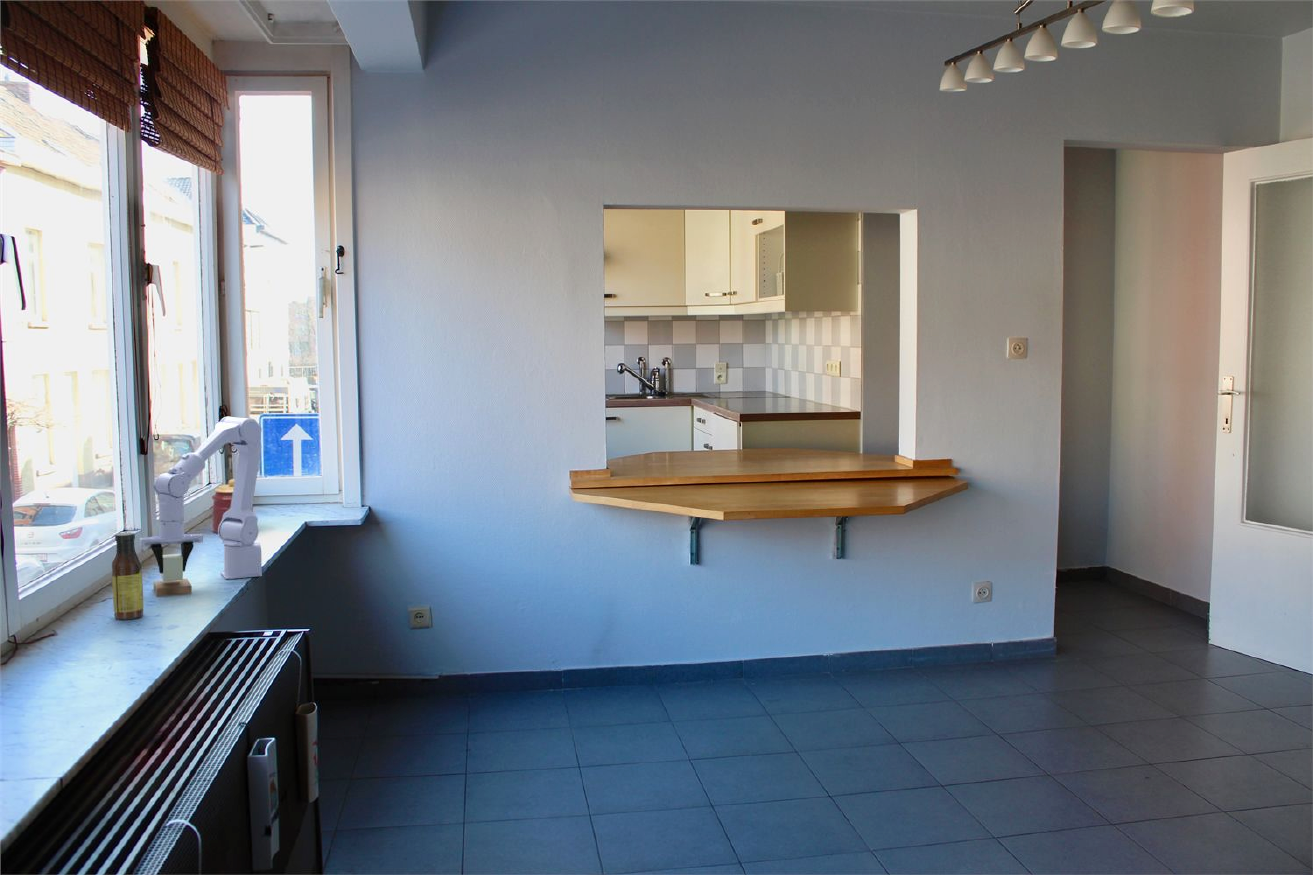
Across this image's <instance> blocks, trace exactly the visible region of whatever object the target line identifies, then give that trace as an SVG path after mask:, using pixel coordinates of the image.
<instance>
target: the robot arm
mask: <svg viewBox="0 0 1313 875" xmlns="http://www.w3.org/2000/svg"><path fill="white" fill-rule="evenodd" d="M261 434H262V427H261V425H260V424H259V423H258V421H257V420H256V419H254V418H252V417H251V418H250V417H249V418H248V417H247V418H244V417H233V416H225V417H223V418H221V419H220V421H218V422H217V423H215V426H214V430H213V431H212V432H211V434H210V435H209V436H208V437H207V438H206V439H205V440H204V441H203V442H202V443H201V445H200V446H199V447H198V448H197V449H196V451H194V452H188V453H184V454H182V456H181V459H180V460H178V462H176V463H175V464H174V466H173V467H170V468H169V469H168V471H167V472H165V473H161V474H160V475H159V476H158V477H157V478H156V479H155V482H154V484H152V487H153V490H154V492H155V493H156V496H157V500H158V510H159V511H158V512H159V513H158V517H159V518H158V519H159V521H158V525H159V529H158V531H159V532H158V533H159V535H156V536H148V537H140V538H139V546H140V547H141V548H143V547H149V548H150V549H151V551H152V552H153V555H154V557H155V559H156V562H157V566H158V572H159V574H161V573H163V555H164V549H163V546H165V545H166V546H167V545H178V544H180V554H181V556H182V557H183V573H185V572H186V567H187V563H188V560H189V558H190V556H191V553H192V551H193V549H194V546H195V545H194V543H200V544H201V543H204V535H203V533H196V534H193V533H192V534H191V533H190V534H187V533H185V519H184V518H185V513H184V510H185V509H184V508H185V507H184V506H185V505H184V504H185V502H184V500H185V499H184V498H185V497H184V496H185V494H187V493H188V491H189V489H190V484H191V483H192V482H193V480H194V479H195V478H197V476H198V475H199V474H201V472H202V471H203V470H204V469H205V468H206V461H207V460H209V458H211V457H212V456H213V455H214V454H215V453H216V452H217V451H219V450H220V449H221V448H222V447H224V446H225V445H226V444H231V445H233V446H234V447H235V449H236V450H237V451H238V458H237V464H236V471H235V475H234V476H235V477H234V480H235V482H234V489H233V495H232V501H231V508H230V509H229V510H228V511H226V512H225V513H224V514H223V518H222V521H221V523H220V524H219V527H218V533H217V534H218V537H219V539H220V540H222V544H223V546H224V547H223V548H224V549H223V550H224V551H223V553H224V558H223V560H224V566H223V567H224V571H221V572H220V574H221V575H222V577H223V578H224V579H225V580H231V579H232V580H233V579H243V578H254V577H255V578H256V577H262V576H263V574H262V567H263V566H262V547H261V544H260V542H255V541H257V539H258V536H259V531H260V530H259V526H258V521H259V518H258V516H257V515H256V514H255V513H254V511H253V512H252V505H253V503H254V498H255V491H256V485H257V478H258V472H259V465H260V458H261V452H262V444H261ZM238 519H241V520H242V521H240V520H238Z"/></svg>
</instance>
